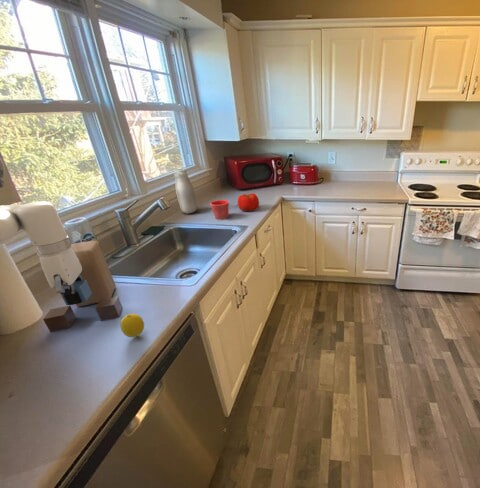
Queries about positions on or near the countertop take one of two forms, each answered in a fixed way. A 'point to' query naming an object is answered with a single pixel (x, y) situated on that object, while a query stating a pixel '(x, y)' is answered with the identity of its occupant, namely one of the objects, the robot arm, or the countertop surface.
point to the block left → (59, 318)
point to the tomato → (248, 202)
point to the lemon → (132, 325)
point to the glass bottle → (185, 192)
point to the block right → (109, 308)
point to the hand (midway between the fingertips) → (78, 297)
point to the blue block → (80, 290)
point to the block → (94, 271)
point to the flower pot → (220, 209)
